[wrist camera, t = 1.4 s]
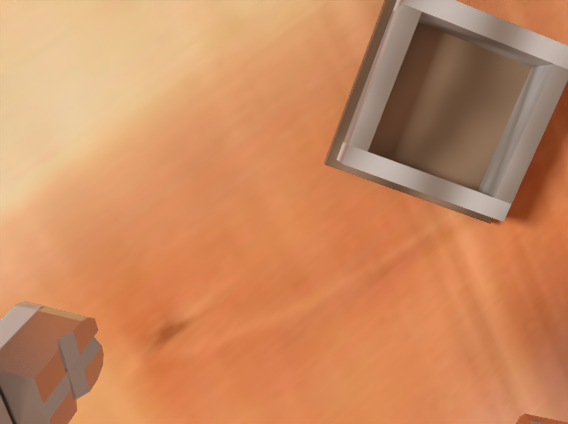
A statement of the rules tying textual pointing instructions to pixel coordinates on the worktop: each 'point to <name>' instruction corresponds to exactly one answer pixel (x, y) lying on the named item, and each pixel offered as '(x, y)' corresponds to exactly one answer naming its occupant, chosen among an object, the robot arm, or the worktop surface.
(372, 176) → the socket mount
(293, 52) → the worktop surface
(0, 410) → the robot arm
